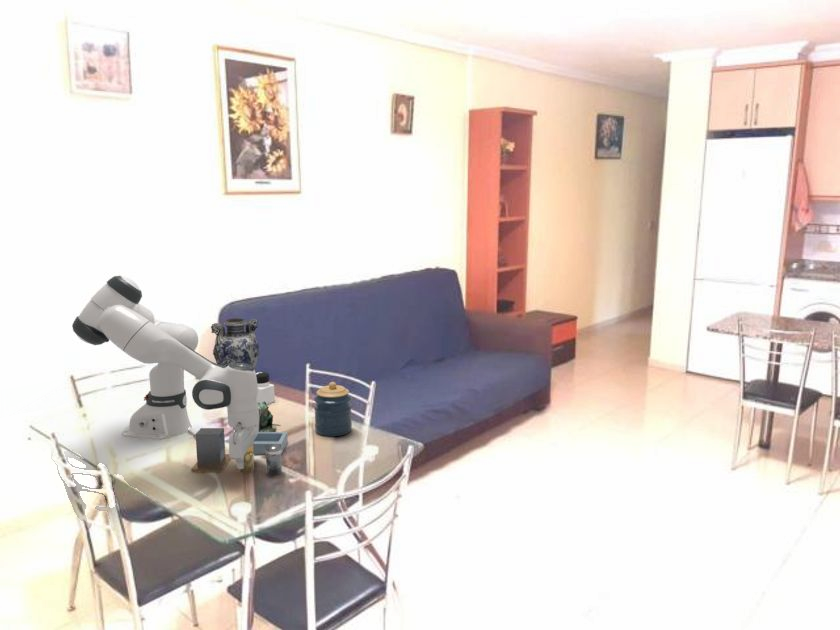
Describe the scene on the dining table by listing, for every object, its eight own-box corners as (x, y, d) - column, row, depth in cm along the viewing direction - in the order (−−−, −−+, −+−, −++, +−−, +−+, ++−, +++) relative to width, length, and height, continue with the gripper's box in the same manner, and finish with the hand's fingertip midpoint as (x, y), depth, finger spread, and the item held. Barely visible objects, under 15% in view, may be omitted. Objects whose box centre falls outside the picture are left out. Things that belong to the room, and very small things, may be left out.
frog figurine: (235, 445, 209) (233, 412, 207) (231, 427, 226) (229, 396, 223) (289, 439, 215) (288, 406, 213) (281, 421, 232) (280, 391, 230)
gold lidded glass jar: (236, 473, 188) (235, 448, 186) (241, 467, 192) (239, 442, 191) (252, 473, 188) (251, 448, 186) (256, 467, 192) (255, 442, 191)
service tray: (243, 454, 202) (243, 443, 201) (251, 441, 212) (251, 432, 211) (281, 454, 202) (281, 443, 201) (287, 442, 212) (287, 432, 211)
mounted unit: (191, 472, 188) (189, 437, 186) (203, 457, 199) (201, 424, 197) (221, 472, 188) (219, 437, 186) (232, 457, 199) (230, 424, 197)
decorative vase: (251, 373, 292) (248, 313, 286) (270, 382, 278) (267, 320, 272) (205, 382, 278) (202, 319, 273) (223, 392, 264) (219, 326, 259)
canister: (309, 427, 225) (308, 379, 222) (342, 421, 231) (342, 374, 228) (323, 439, 214) (322, 389, 211) (358, 432, 220) (357, 384, 217)
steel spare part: (264, 475, 187) (263, 449, 185) (268, 468, 191) (267, 443, 190) (280, 475, 187) (279, 449, 185) (283, 468, 191) (282, 443, 190)
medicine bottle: (275, 401, 252) (274, 372, 250) (261, 406, 247) (260, 377, 244) (262, 398, 256) (261, 370, 254) (249, 403, 250) (247, 374, 248)
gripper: (244, 430, 176) (246, 476, 179) (262, 406, 197) (263, 448, 199) (222, 430, 176) (224, 476, 179) (241, 406, 196) (243, 448, 199)
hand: (245, 461), depth 189 cm, fingers open, 8 cm apart
